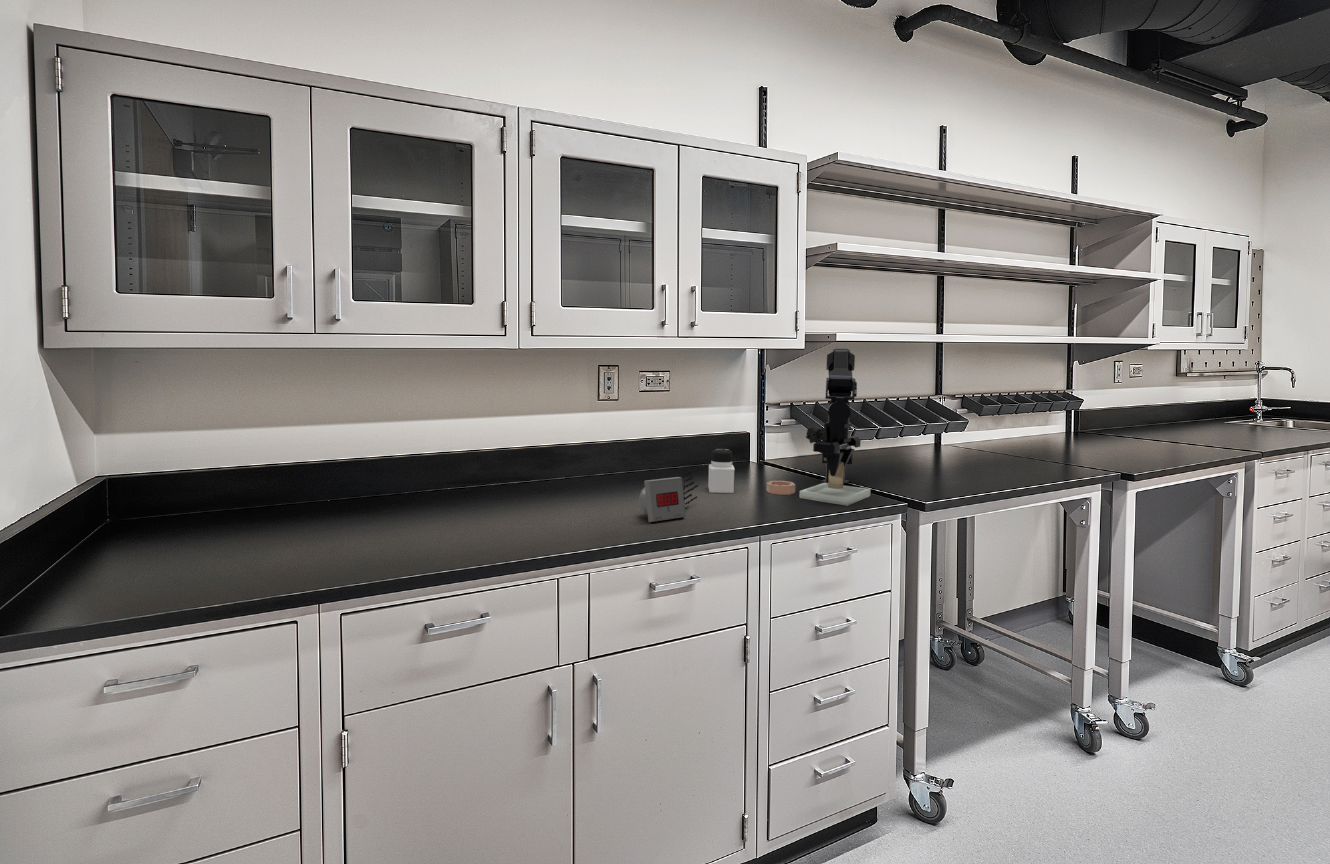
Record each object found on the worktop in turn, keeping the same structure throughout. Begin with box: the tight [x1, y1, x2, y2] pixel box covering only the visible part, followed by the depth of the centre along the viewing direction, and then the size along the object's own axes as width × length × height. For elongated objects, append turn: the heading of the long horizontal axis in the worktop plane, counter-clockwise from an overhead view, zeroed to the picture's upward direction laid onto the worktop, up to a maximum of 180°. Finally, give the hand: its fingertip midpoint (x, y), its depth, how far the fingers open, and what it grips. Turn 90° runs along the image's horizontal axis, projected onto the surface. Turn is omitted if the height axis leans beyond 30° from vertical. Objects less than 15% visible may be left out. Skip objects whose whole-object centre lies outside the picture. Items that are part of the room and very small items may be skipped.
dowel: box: [828, 462, 844, 489], centre depth 195 cm, size 4×4×7 cm
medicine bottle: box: [707, 448, 736, 494], centre depth 202 cm, size 7×7×12 cm
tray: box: [799, 482, 871, 507], centre depth 196 cm, size 16×14×2 cm
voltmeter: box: [638, 467, 700, 523], centre depth 175 cm, size 27×11×10 cm, turn 159°
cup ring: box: [765, 480, 796, 496], centre depth 202 cm, size 8×8×2 cm
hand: (836, 474), depth 195 cm, fingers closed on dowel, 4 cm apart
